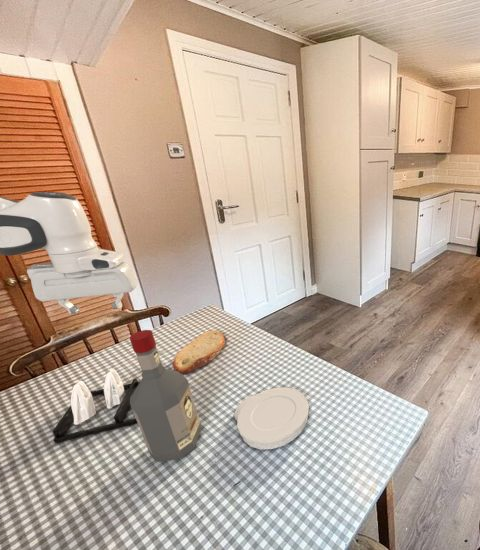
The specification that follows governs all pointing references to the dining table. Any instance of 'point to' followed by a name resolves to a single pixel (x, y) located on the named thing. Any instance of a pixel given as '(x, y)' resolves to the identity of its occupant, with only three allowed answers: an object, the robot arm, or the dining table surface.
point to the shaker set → (84, 400)
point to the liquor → (163, 404)
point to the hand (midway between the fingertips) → (96, 310)
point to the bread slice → (199, 352)
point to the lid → (272, 417)
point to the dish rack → (118, 417)
